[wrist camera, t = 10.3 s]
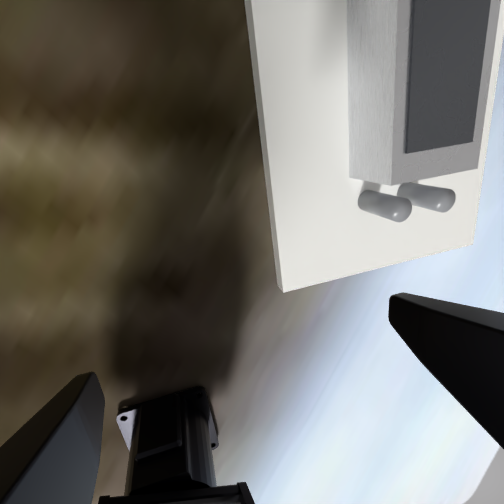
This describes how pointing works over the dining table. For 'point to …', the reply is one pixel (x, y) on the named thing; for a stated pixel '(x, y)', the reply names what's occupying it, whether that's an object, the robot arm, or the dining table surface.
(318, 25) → the white peg board
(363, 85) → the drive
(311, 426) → the dining table surface
